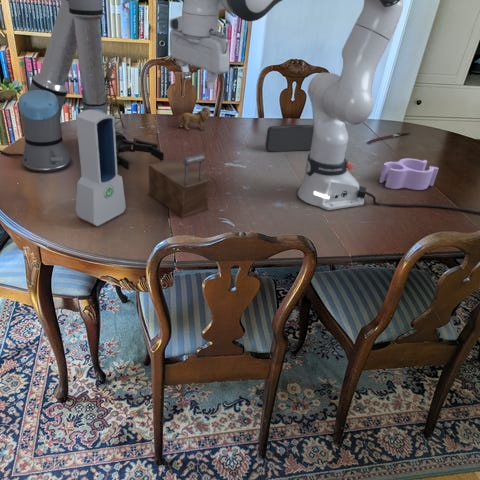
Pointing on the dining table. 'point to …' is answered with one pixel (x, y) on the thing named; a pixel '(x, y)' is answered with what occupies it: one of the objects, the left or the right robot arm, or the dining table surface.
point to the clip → (408, 174)
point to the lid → (182, 172)
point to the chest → (178, 195)
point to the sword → (386, 137)
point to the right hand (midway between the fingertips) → (197, 83)
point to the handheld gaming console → (289, 137)
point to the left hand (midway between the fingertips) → (145, 161)
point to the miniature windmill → (108, 78)
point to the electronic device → (98, 169)
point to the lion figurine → (195, 118)
